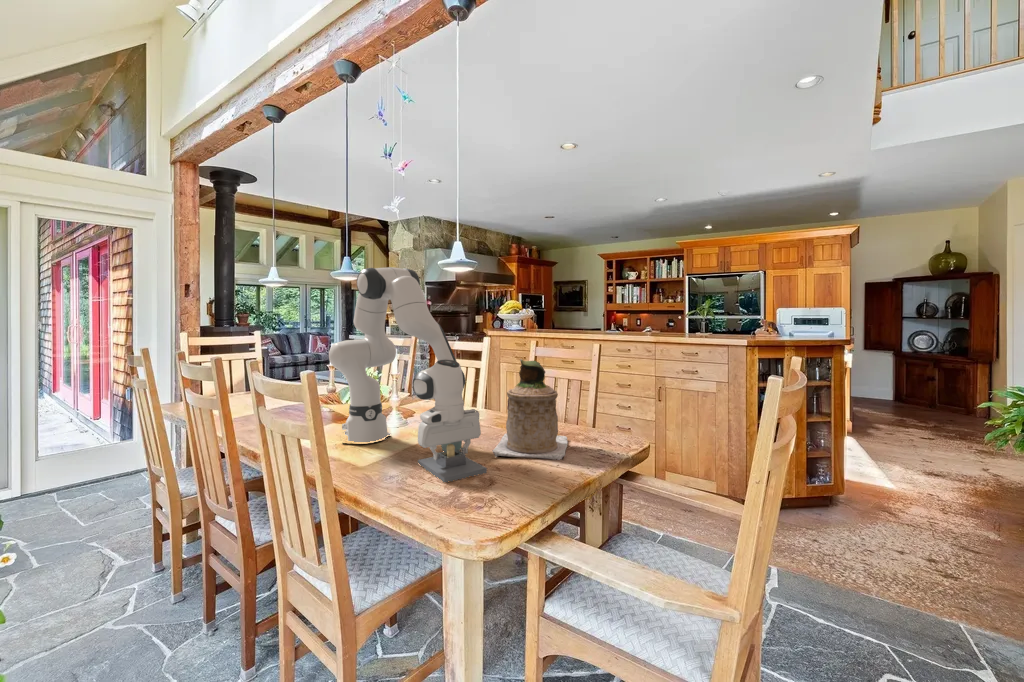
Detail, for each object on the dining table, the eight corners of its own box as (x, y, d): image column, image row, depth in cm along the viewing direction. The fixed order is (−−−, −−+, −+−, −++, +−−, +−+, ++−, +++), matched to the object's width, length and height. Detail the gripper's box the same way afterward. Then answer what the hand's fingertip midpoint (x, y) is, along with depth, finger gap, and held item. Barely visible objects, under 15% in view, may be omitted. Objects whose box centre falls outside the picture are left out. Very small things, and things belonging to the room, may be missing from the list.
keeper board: (417, 464, 151) (417, 440, 150) (457, 456, 158) (456, 433, 158) (444, 483, 134) (443, 456, 133) (486, 472, 142) (486, 447, 141)
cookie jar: (565, 461, 151) (564, 362, 149) (491, 458, 155) (488, 362, 153) (568, 439, 176) (567, 355, 174) (504, 438, 180) (502, 355, 178)
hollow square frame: (436, 463, 147) (436, 453, 147) (456, 458, 151) (455, 449, 150) (445, 469, 141) (445, 458, 141) (465, 464, 145) (465, 454, 145)
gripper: (474, 406, 153) (475, 447, 154) (414, 415, 142) (416, 459, 143) (483, 409, 148) (484, 452, 149) (423, 419, 137) (424, 465, 138)
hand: (450, 456), depth 146 cm, fingers open, 8 cm apart
